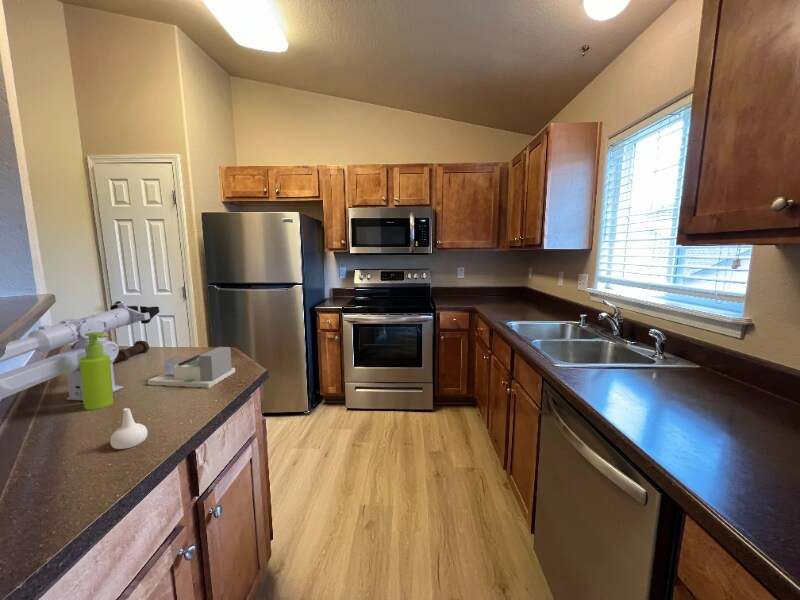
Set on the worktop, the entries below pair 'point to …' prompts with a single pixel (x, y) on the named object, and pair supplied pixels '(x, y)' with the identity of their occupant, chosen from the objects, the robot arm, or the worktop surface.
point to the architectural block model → (199, 371)
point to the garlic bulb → (128, 433)
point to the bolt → (132, 351)
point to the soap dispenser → (96, 374)
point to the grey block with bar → (179, 363)
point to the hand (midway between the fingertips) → (147, 309)
